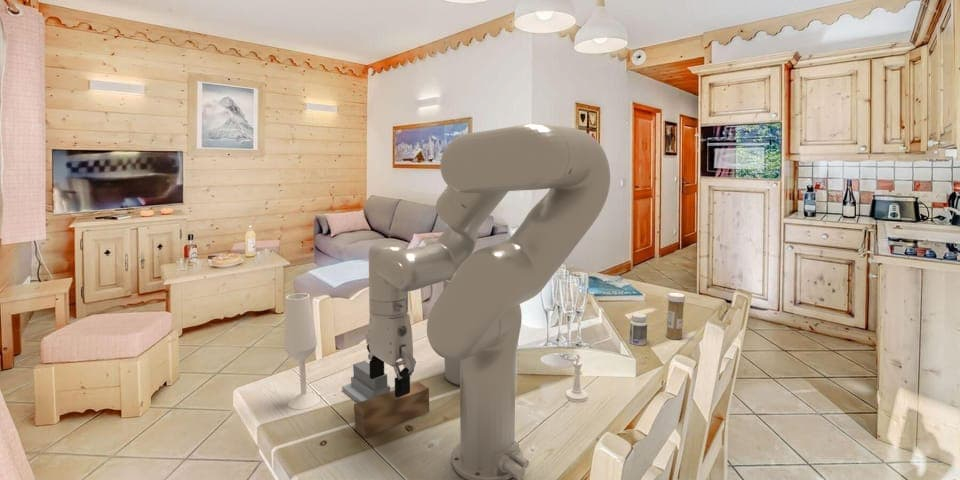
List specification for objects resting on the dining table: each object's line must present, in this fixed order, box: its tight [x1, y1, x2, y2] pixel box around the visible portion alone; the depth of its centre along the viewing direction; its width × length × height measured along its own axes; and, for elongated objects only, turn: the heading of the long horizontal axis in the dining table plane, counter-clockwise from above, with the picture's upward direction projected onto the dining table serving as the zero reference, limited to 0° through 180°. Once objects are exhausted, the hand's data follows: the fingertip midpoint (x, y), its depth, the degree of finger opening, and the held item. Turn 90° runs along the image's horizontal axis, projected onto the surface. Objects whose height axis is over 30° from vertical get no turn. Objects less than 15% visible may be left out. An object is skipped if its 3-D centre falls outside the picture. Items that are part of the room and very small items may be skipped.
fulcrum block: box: [341, 360, 394, 403], centre depth 108 cm, size 12×8×6 cm, turn 42°
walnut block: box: [353, 381, 430, 439], centre depth 98 cm, size 15×4×6 cm, turn 130°
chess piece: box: [565, 353, 589, 403], centre depth 107 cm, size 5×5×10 cm
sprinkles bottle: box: [665, 292, 686, 341], centre depth 143 cm, size 5×5×13 cm
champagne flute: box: [283, 292, 321, 410], centre depth 104 cm, size 7×7×24 cm
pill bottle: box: [629, 312, 648, 346], centre depth 139 cm, size 5×5×8 cm
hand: (389, 385), depth 97 cm, fingers open, 9 cm apart
